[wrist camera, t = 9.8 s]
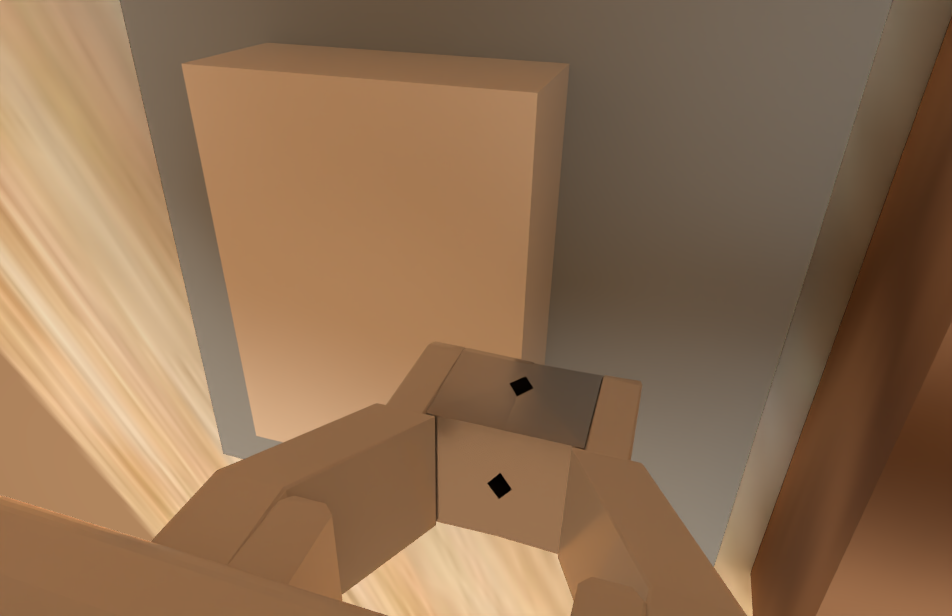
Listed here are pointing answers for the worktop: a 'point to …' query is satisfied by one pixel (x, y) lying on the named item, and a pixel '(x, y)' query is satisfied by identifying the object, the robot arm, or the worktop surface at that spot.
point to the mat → (594, 189)
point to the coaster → (375, 214)
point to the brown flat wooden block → (880, 415)
